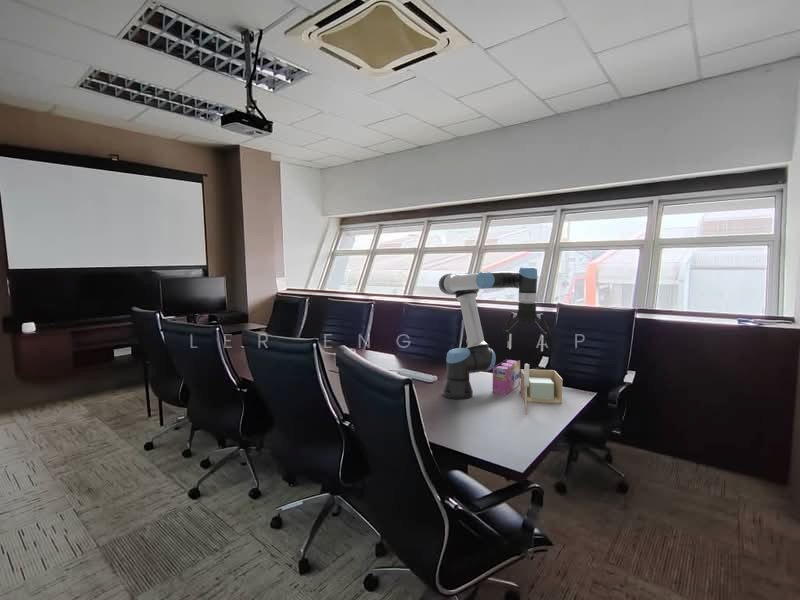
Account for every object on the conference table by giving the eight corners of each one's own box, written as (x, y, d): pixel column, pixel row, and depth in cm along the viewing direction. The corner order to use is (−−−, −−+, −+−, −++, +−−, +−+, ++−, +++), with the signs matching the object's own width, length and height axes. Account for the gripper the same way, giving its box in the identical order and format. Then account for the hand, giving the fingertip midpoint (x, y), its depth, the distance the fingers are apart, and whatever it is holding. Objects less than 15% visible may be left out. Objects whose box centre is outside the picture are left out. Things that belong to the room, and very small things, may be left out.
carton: (525, 401, 192) (525, 377, 191) (520, 391, 208) (520, 368, 208) (561, 403, 189) (562, 379, 188) (553, 392, 206) (554, 369, 205)
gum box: (507, 381, 226) (507, 358, 225) (521, 383, 222) (521, 359, 220) (492, 392, 206) (492, 367, 205) (506, 395, 202) (507, 369, 201)
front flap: (523, 401, 191) (524, 357, 190) (527, 402, 191) (528, 357, 189) (523, 414, 175) (524, 365, 174) (528, 414, 175) (529, 366, 173)
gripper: (497, 302, 174) (496, 349, 176) (558, 304, 167) (556, 353, 168) (499, 300, 182) (497, 346, 184) (557, 302, 174) (555, 349, 176)
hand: (525, 349), depth 176 cm, fingers open, 13 cm apart
